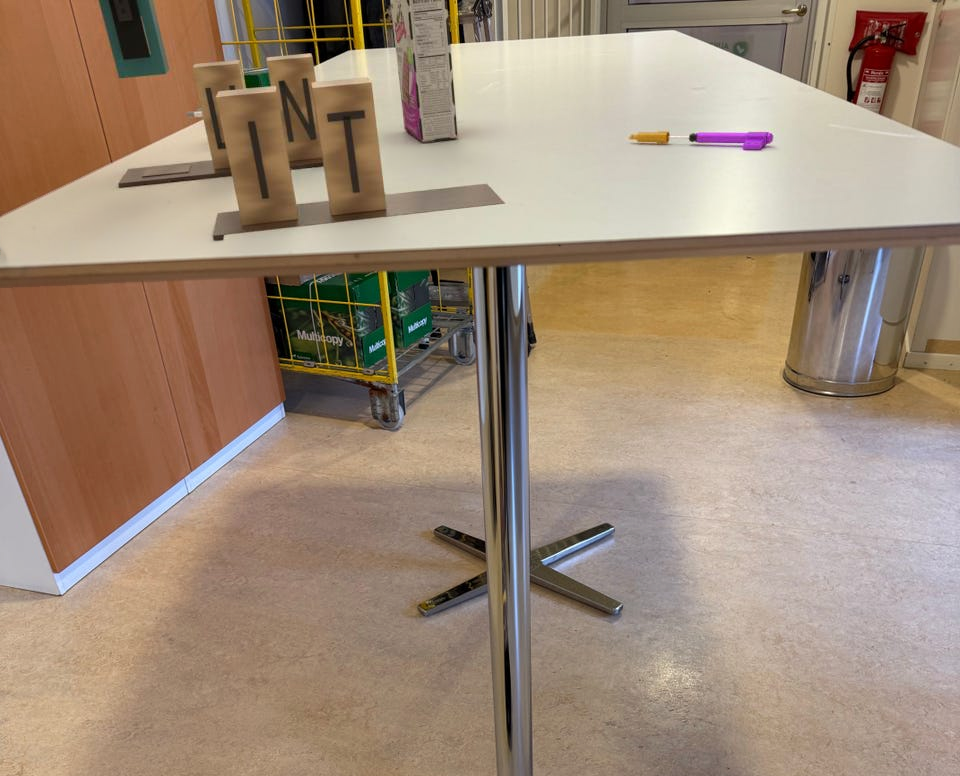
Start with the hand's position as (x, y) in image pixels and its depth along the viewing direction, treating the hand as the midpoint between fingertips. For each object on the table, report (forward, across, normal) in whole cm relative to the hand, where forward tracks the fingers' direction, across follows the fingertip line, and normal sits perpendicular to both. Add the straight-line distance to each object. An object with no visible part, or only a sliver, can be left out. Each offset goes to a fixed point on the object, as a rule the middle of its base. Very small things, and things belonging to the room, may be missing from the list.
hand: (139, 55), depth 99 cm
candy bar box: (+12, +9, -32) cm, 35 cm away
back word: (+12, 0, -8) cm, 14 cm away
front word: (+12, -30, -20) cm, 38 cm away
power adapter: (+12, +21, -7) cm, 25 cm away
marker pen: (+12, -16, -58) cm, 61 cm away
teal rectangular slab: (+2, 0, 0) cm, 2 cm away
